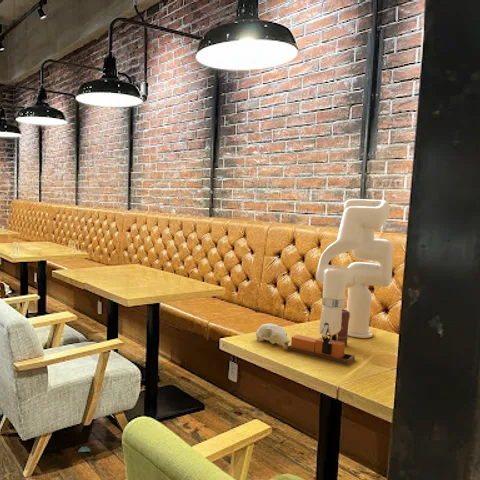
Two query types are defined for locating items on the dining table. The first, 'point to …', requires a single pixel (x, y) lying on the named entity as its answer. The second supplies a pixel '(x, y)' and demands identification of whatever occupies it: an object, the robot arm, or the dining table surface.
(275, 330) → the animal skull
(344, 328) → the can
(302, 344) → the back pad left
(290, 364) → the dining table surface
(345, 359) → the frame
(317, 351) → the back pad right
